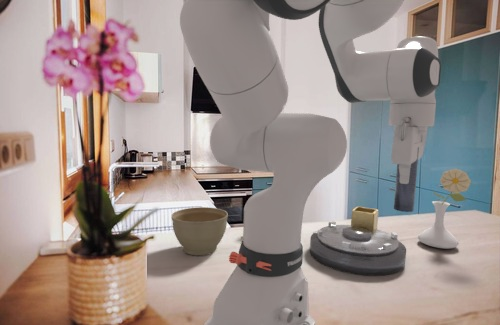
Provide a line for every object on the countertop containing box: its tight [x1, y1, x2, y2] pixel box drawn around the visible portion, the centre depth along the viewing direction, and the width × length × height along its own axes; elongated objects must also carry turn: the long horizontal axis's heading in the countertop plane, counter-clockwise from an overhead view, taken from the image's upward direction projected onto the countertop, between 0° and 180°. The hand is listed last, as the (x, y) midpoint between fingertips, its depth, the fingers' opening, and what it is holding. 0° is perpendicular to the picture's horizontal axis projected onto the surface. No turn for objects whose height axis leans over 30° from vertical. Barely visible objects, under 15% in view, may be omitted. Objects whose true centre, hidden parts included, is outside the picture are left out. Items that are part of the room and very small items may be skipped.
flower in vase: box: [417, 168, 472, 250], centre depth 104 cm, size 13×11×25 cm
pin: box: [393, 147, 419, 213], centre depth 73 cm, size 4×4×14 cm
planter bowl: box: [171, 206, 229, 256], centre depth 97 cm, size 16×16×11 cm
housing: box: [309, 230, 407, 277], centre depth 96 cm, size 26×26×4 cm
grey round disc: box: [317, 206, 400, 256], centre depth 95 cm, size 22×22×7 cm
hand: (406, 181), depth 73 cm, fingers closed on pin, 4 cm apart
